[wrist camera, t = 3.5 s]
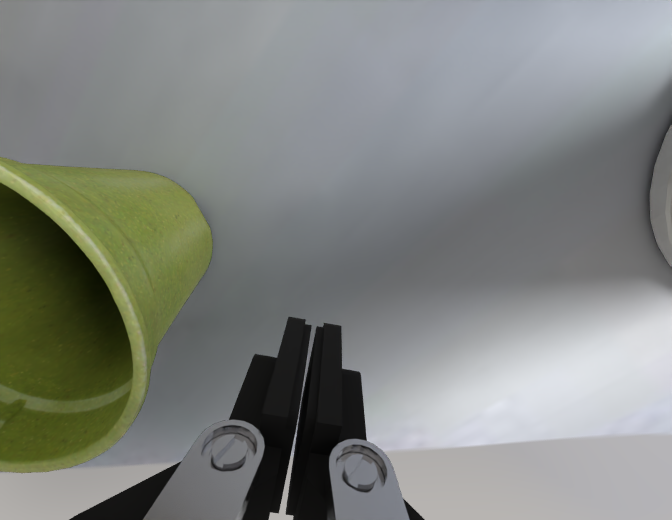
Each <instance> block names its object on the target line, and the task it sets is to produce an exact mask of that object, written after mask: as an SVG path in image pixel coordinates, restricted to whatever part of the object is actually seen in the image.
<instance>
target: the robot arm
mask: <svg viewBox="0 0 672 520" xmlns="http://www.w3.org/2000/svg"><path fill="white" fill-rule="evenodd" d="M650 220H651V225H652V228H653V232H654V235H655V239H656V242H657V245H658V247H659V249H660V250H661V252H662V254H663V255H664V257H665V259H666V260H667V262H668V264H669V265H670V266H671V267H672V125H671V126H670V128H669V130H668V132H667V133H666V136H665V139H664V141H663V144H662V147H661V150H660V152H659V155H658V158H657V160H656V163H655V166H654V172H653V178H652V184H651V189H650ZM310 333H311V325H306V324H305V319H299V318H293V317H289V318H288V321H287V325H286V328H285V332H284V335H283V339H282V343H281V346H280V350H279V353H278V357H277V358H275V357H269V356H263V355H258V354H255V355H254V357H253V359H252V362H251V364H250V367H249V369H248V372H247V375H246V377H245V380H244V382H243V385H242V387H241V390H240V393H239V395H238V398H237V400H236V403H235V405H234V408H233V411H232V413H231V416H230V418H229V420H224V421H221V422H218V423H215V424H213V425H211V426H210V427H208V428H207V429H205V430H204V431H203V432H202V433H201V435H200V436H199V437H198V438H197V440H196V441H195V443H194V444H193V446H192V447H191V449H190V450H189V452H188V453H187V454H186V456H185V457H184V459H183V460H182V461H181V462H179V463H177V464H175V465H173V466H171V467H170V468H167V469H166V470H164V471H162V472H160V473H158V474H156V475H154V476H152V477H150V478H148V479H146V480H144V481H142V482H140V483H138V484H136V485H135V486H132V487H131V488H129V489H127V490H125V491H123V492H121V493H119V494H117V495H115V496H113V497H111V498H110V499H107V500H105V501H103V502H101V503H99V504H97V505H96V506H94V507H92V508H90V509H88V510H86V511H84V512H82V513H80V514H78V515H76V516H74V517H73V518H71V519H70V520H268V519H269V514H270V512H273V513H279V509H280V504H281V499H282V494H283V489H284V484H285V480H286V475H287V470H288V465H289V460H290V455H291V450H292V445H293V440H294V435H295V430H296V425H297V420H298V414H299V408H300V401H301V394H302V387H303V380H304V373H305V367H306V360H307V353H308V346H309V339H310ZM286 515H293V516H294V517H293V520H424V519H423V518H422V517H421V516H420V515H419V514H418V513H417V512H416V511H415V510H414V509H413V508H412V507H411V506H410V505H409V504H408V503H407V502H406V501H405V500H404V499H403V498H402V494H401V491H400V488H399V485H398V481H397V478H396V475H395V472H394V469H393V466H392V464H391V462H390V460H389V458H388V457H387V455H386V454H385V453H384V452H383V451H382V450H381V449H380V448H378V447H377V446H376V445H374V444H372V443H370V442H368V441H367V440H366V428H365V417H364V406H363V395H362V383H361V374H360V372H357V371H352V370H346V369H342V339H341V326H338V325H333V324H327V323H324V326H323V327H318V326H317V328H316V332H315V337H314V342H313V347H312V352H311V357H310V362H309V367H308V372H307V377H306V382H305V387H304V391H303V397H302V402H301V409H300V416H299V423H298V430H297V437H296V444H295V451H294V458H293V465H292V473H291V479H290V486H289V493H288V500H287V508H286Z"/></svg>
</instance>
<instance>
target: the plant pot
mask: <svg viewBox="0 0 672 520" xmlns="http://www.w3.org/2000/svg"><path fill="white" fill-rule="evenodd" d="M212 249H213V241H212V234H211V230H210V227H209V225H208V223H207V222H206V220H205V218H204V216H203V215H202V213H201V212H200V210H199V208H198V206H197V204H196V202H195V201H194V199H193V197H192V196H191V195H190V194H189V193H188V192H187V191H186V190H184V189H183V188H182V187H181V186H179V185H178V184H176V183H175V182H173V181H171V180H170V179H168V178H166V177H164V176H161V175H158V174H155V173H151V172H146V171H138V170H119V169H100V168H84V167H64V166H50V165H37V164H24V163H19V162H16V161H13V160H10V159H7V158H2V157H0V471H1V472H16V473H31V472H49V471H53V470H59V469H65V468H70V467H73V466H76V465H79V464H82V463H84V462H87V461H89V460H91V459H93V458H95V457H97V456H99V455H100V454H102V453H104V452H105V451H107V450H108V449H110V448H111V447H112V446H114V445H115V444H116V443H117V442H118V441H119V440H120V439H121V438H122V436H123V435H124V434H125V433H126V432H127V430H128V429H129V427H130V426H131V424H132V423H133V422H134V420H135V418H136V417H137V415H138V413H139V412H140V410H141V407H142V405H143V403H144V400H145V397H146V394H147V391H148V387H149V380H150V371H151V367H152V364H153V361H154V359H155V355H156V352H157V347H158V344H159V343H160V341H161V340H162V338H163V336H164V335H165V333H166V332H167V330H168V328H169V327H170V325H171V324H172V322H173V321H174V319H175V318H176V316H177V314H178V313H179V311H180V310H181V308H182V307H183V305H184V304H185V302H186V301H187V299H188V298H189V296H190V295H191V293H192V292H193V290H194V289H195V287H196V286H197V284H198V283H199V281H200V280H201V278H202V277H203V275H204V274H205V272H206V270H207V268H208V266H209V264H210V261H211V257H212Z"/></svg>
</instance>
